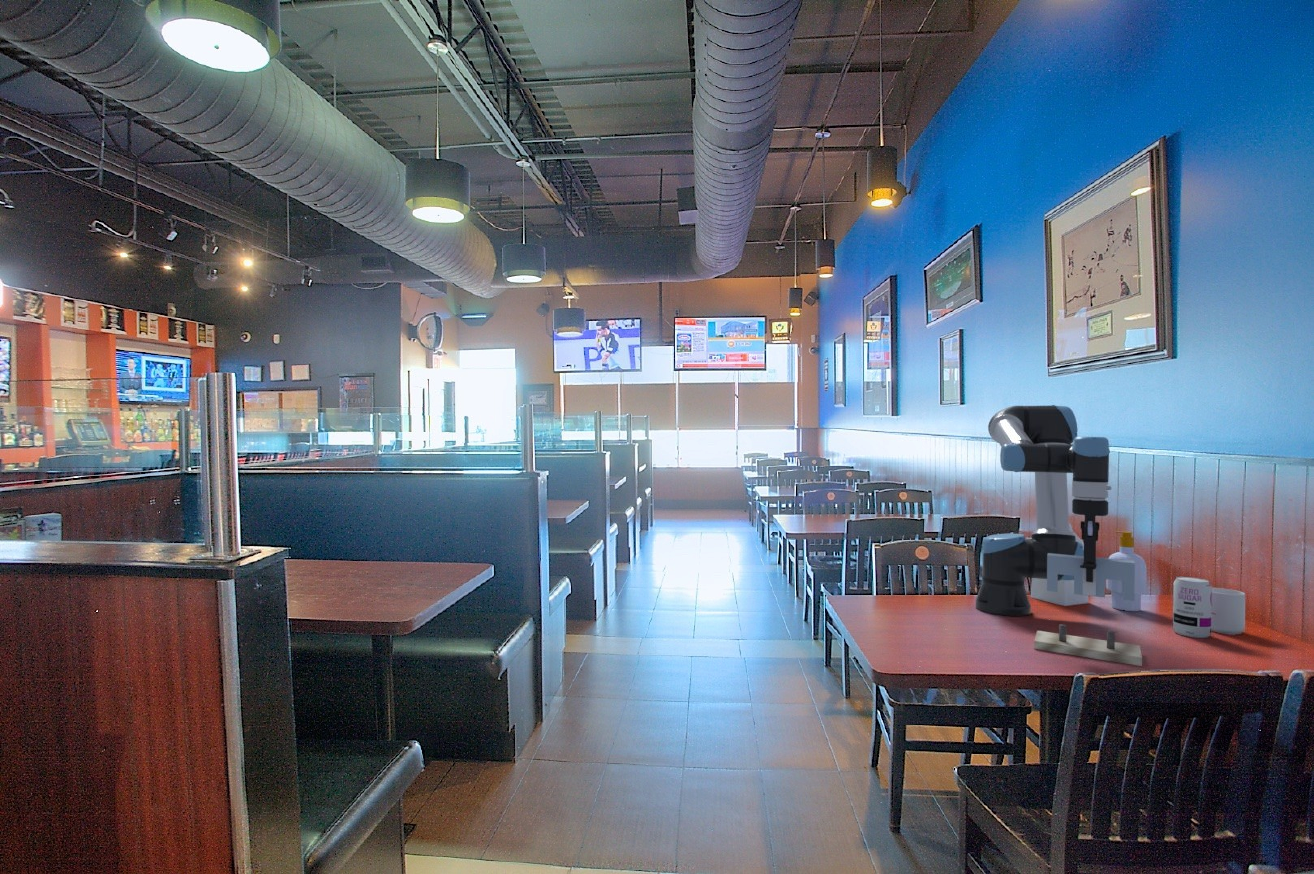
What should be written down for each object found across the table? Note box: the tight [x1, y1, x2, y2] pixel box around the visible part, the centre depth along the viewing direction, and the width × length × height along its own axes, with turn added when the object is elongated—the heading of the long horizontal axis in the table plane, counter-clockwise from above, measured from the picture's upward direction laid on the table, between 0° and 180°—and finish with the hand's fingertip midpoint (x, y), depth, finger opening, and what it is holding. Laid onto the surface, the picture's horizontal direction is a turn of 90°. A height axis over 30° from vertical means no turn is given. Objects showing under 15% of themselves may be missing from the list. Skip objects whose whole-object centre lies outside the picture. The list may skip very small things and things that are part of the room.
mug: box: [1211, 587, 1246, 636], centre depth 188 cm, size 12×9×11 cm
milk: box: [1030, 521, 1090, 607], centre depth 220 cm, size 12×12×26 cm
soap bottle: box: [1105, 530, 1148, 612], centre depth 209 cm, size 10×10×24 cm
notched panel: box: [1047, 553, 1135, 601], centre depth 165 cm, size 18×4×9 cm, turn 57°
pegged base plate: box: [1033, 623, 1143, 667], centre depth 166 cm, size 22×11×6 cm, turn 57°
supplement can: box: [1172, 576, 1213, 639], centre depth 182 cm, size 8×8×15 cm
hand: (1089, 592), depth 165 cm, fingers closed on notched panel, 4 cm apart
